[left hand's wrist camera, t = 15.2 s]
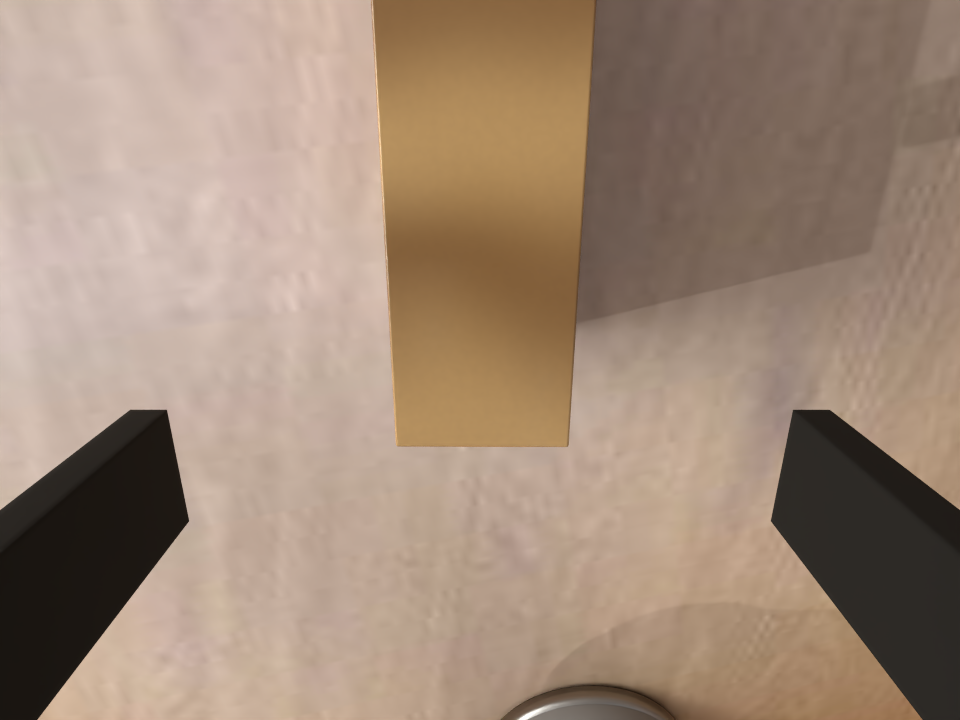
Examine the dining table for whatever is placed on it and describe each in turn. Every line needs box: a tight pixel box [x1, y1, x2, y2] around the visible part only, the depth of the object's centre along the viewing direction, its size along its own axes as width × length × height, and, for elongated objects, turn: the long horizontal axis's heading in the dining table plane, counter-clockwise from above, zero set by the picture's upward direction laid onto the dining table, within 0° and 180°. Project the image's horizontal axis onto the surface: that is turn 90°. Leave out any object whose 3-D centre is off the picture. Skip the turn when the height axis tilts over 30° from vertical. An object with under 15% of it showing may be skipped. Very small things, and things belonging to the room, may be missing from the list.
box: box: [371, 0, 597, 447], centre depth 22 cm, size 24×6×12 cm, turn 0°
